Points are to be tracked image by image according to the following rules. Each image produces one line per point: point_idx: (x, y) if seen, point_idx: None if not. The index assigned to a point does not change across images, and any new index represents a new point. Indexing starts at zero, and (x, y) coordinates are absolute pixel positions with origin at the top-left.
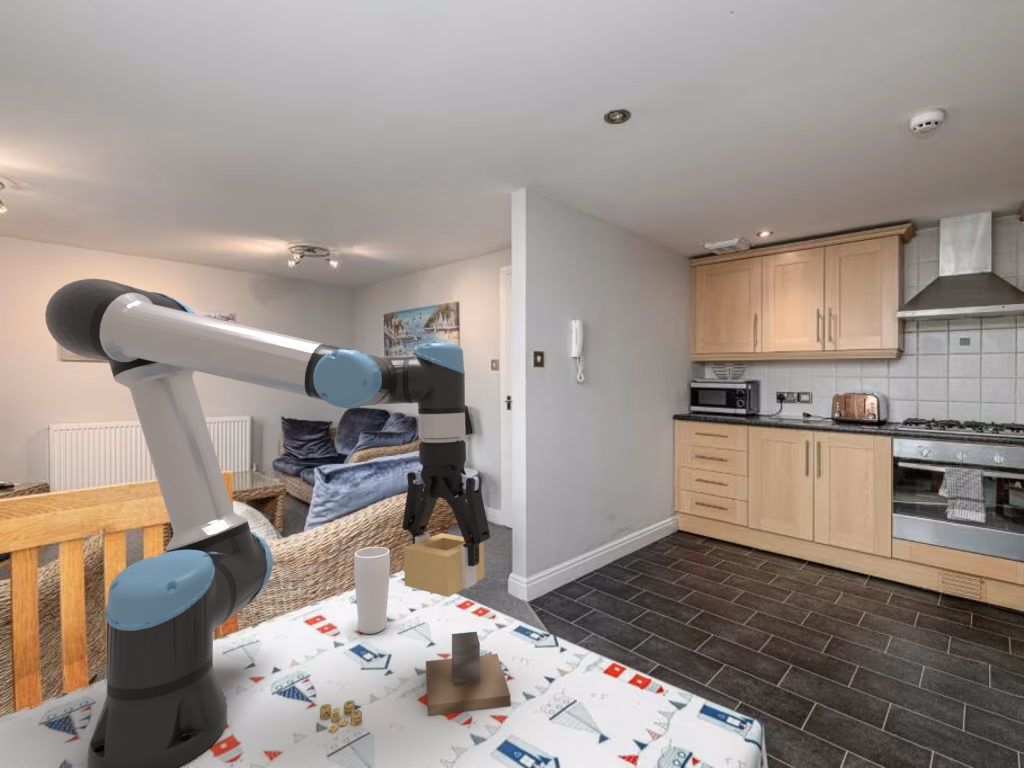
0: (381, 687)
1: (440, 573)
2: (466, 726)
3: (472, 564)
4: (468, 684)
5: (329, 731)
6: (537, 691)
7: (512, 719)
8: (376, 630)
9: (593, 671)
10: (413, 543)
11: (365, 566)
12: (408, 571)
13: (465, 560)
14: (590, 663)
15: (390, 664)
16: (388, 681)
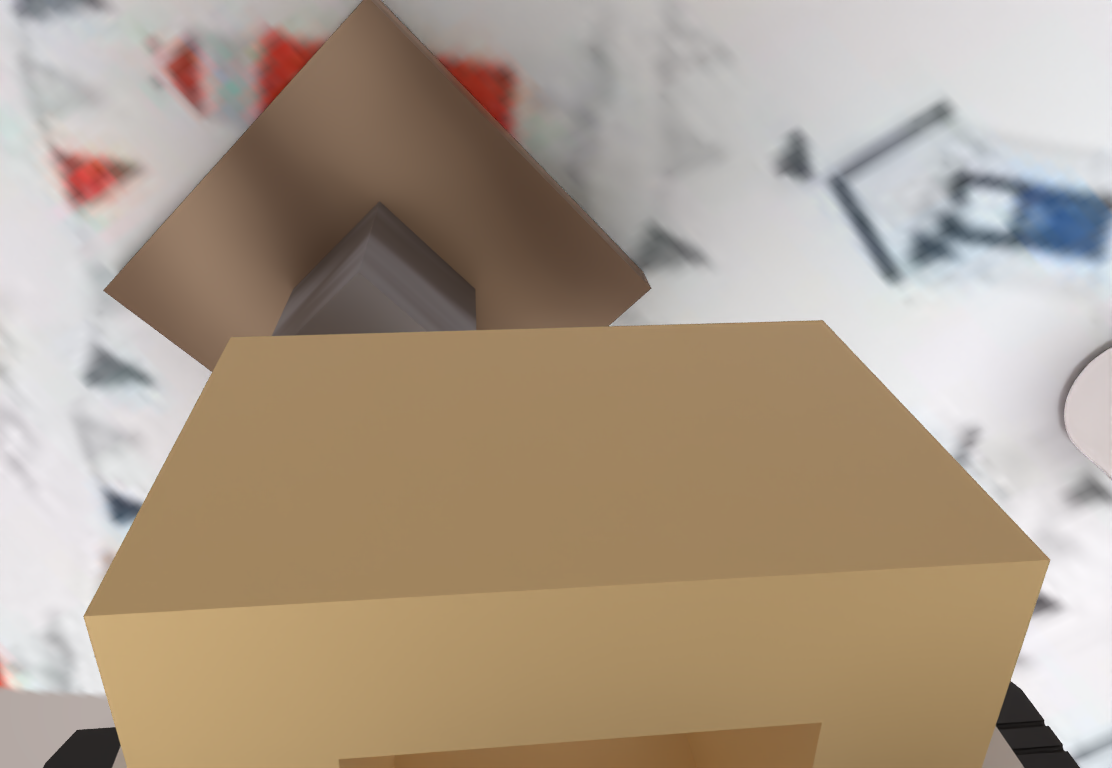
0: (742, 41)
1: (303, 447)
2: (162, 37)
3: (75, 749)
4: (328, 250)
5: None
6: (105, 416)
7: (38, 199)
8: (1084, 377)
9: (27, 637)
10: (1063, 765)
11: None
12: (824, 392)
13: (122, 752)
14: (77, 672)
15: (834, 215)
16: (745, 100)
